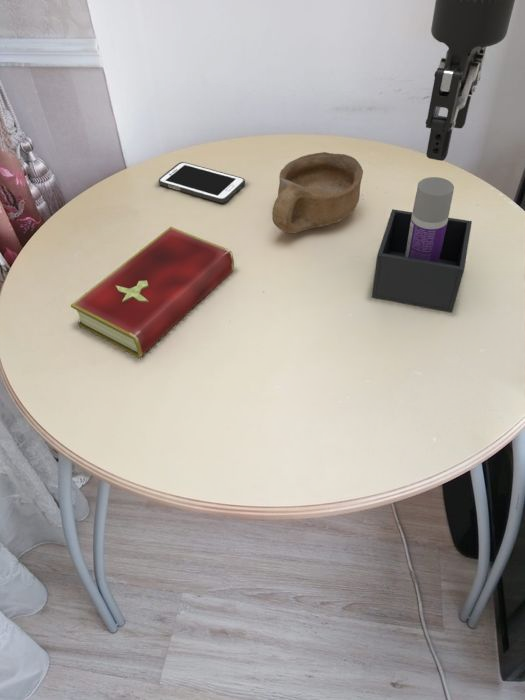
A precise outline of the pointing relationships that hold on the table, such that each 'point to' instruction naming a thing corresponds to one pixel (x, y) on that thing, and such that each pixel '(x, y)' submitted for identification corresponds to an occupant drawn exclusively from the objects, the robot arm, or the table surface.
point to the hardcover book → (153, 290)
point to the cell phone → (202, 182)
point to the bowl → (316, 191)
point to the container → (429, 219)
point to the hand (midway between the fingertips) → (445, 141)
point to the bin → (420, 266)
